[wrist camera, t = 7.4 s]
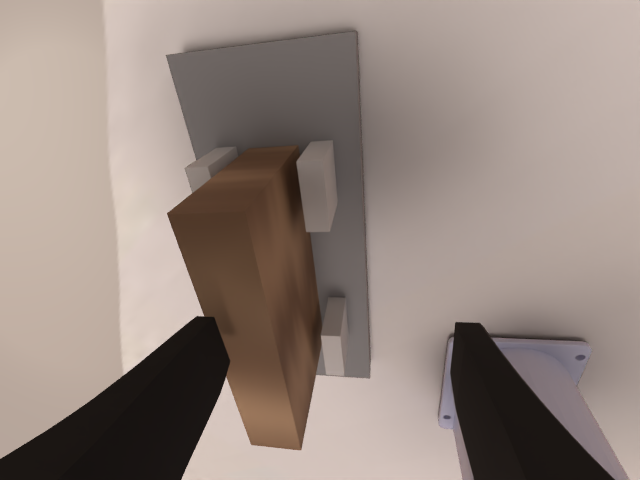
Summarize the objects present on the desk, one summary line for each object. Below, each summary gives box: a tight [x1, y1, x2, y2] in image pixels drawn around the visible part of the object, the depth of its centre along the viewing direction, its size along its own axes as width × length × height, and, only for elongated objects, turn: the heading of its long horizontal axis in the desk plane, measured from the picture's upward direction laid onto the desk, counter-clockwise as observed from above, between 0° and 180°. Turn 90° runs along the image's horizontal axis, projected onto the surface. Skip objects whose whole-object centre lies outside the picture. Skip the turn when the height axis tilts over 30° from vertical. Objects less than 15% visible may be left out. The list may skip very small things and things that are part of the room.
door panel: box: [167, 145, 322, 450], centre depth 15 cm, size 12×3×7 cm, turn 6°
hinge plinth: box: [166, 31, 371, 378], centre depth 18 cm, size 20×8×4 cm, turn 6°
